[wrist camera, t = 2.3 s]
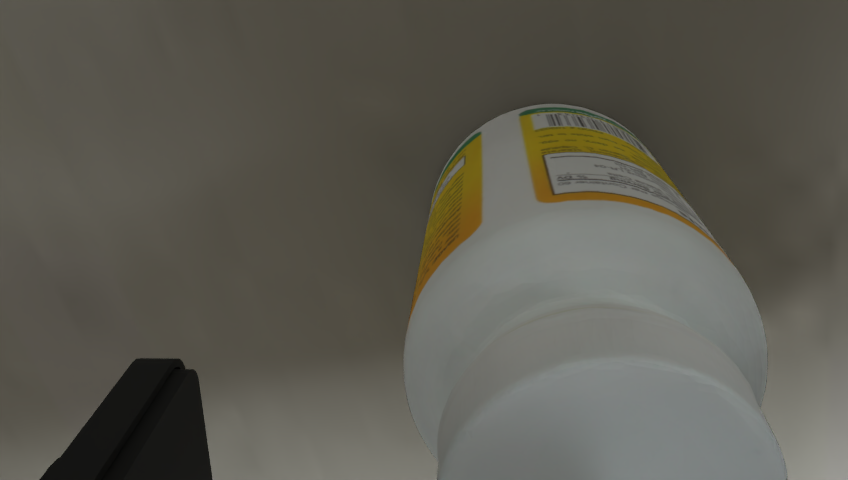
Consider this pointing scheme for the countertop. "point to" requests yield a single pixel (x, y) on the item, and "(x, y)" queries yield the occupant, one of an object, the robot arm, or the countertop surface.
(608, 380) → the supplement bottle
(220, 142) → the countertop surface
